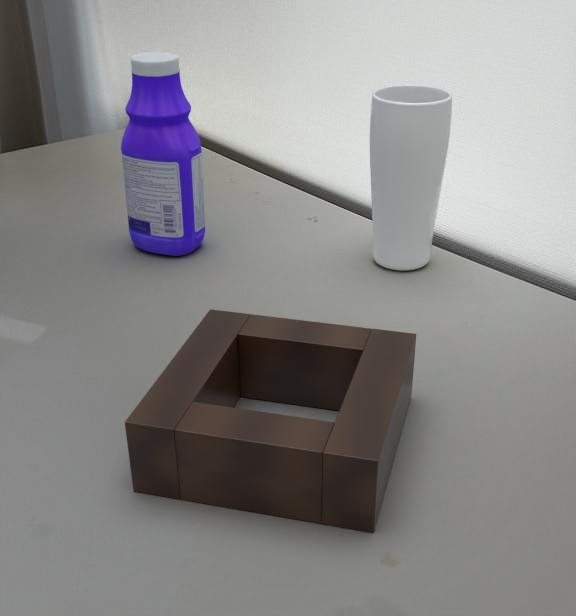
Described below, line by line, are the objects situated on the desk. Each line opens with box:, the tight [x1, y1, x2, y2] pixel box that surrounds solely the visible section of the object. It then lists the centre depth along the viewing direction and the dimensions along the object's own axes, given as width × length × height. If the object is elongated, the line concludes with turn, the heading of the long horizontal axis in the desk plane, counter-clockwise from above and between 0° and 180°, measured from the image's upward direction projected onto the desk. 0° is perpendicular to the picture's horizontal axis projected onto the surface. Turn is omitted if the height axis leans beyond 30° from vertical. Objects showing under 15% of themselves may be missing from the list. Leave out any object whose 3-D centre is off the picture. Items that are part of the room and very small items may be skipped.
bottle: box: [120, 51, 206, 257], centre depth 79 cm, size 7×6×17 cm
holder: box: [124, 309, 417, 533], centre depth 55 cm, size 14×14×5 cm
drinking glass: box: [368, 84, 453, 272], centre depth 76 cm, size 7×7×15 cm
